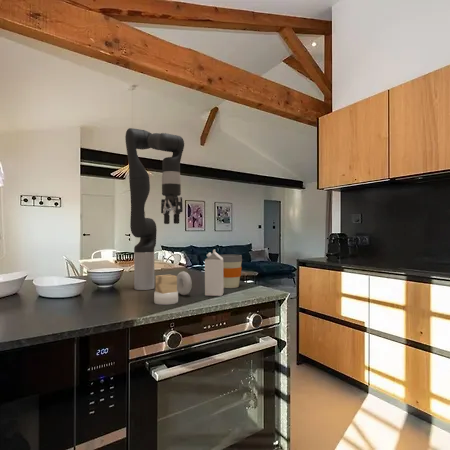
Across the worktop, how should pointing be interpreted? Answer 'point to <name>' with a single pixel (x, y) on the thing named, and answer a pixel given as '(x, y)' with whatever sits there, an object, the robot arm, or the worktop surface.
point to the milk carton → (214, 275)
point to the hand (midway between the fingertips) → (171, 223)
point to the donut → (187, 285)
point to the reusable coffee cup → (231, 270)
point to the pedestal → (165, 298)
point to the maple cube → (166, 283)
